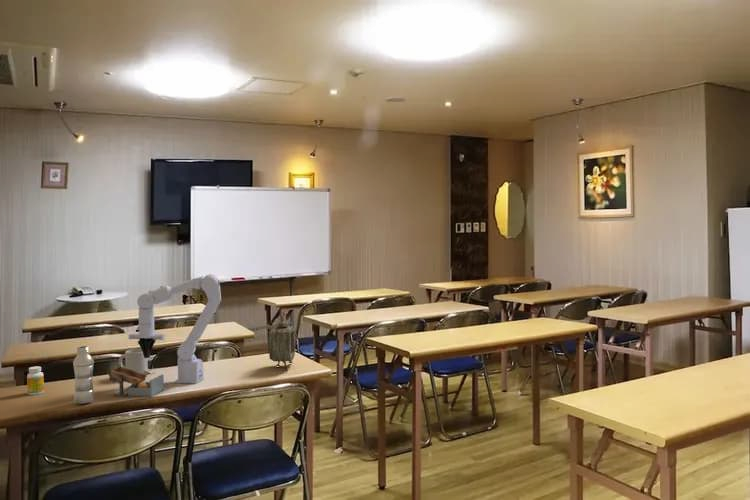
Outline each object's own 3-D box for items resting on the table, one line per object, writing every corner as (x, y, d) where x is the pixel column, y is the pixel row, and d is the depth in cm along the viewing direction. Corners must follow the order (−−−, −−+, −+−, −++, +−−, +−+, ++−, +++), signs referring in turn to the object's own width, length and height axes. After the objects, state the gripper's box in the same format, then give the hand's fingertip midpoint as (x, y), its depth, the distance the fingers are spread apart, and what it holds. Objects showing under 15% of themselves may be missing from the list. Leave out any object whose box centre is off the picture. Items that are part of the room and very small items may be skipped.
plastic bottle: (78, 400, 207) (76, 345, 206) (98, 400, 207) (96, 345, 207) (70, 406, 200) (68, 349, 200) (90, 405, 201) (88, 348, 200)
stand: (141, 388, 222) (141, 371, 221) (125, 396, 211) (125, 378, 211) (129, 388, 222) (129, 371, 222) (113, 396, 212) (112, 378, 211)
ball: (150, 383, 217) (142, 379, 218) (145, 386, 214) (137, 381, 214) (146, 392, 218) (138, 387, 218) (141, 394, 214) (133, 389, 214)
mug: (151, 374, 243) (151, 348, 243) (141, 379, 235) (140, 353, 235) (125, 373, 245) (124, 348, 245) (113, 379, 237) (112, 352, 236)
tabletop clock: (290, 371, 245) (289, 313, 244) (269, 371, 246) (267, 313, 245) (295, 363, 260) (294, 308, 259) (275, 363, 260) (274, 308, 259)
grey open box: (163, 390, 219) (163, 374, 219) (151, 396, 211) (151, 380, 210) (141, 389, 221) (140, 373, 220) (128, 396, 212) (127, 380, 212)
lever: (153, 380, 226) (155, 370, 226) (134, 389, 213) (136, 379, 212) (127, 372, 227) (130, 362, 227) (107, 380, 214) (110, 370, 214)
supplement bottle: (32, 395, 214) (31, 369, 214) (24, 393, 217) (23, 368, 216) (46, 392, 219) (46, 366, 218) (39, 390, 221) (38, 365, 221)
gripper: (123, 324, 226) (124, 359, 226) (158, 325, 224) (159, 360, 224) (133, 321, 233) (134, 355, 233) (167, 322, 230) (168, 356, 231)
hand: (147, 357), depth 229 cm, fingers closed
